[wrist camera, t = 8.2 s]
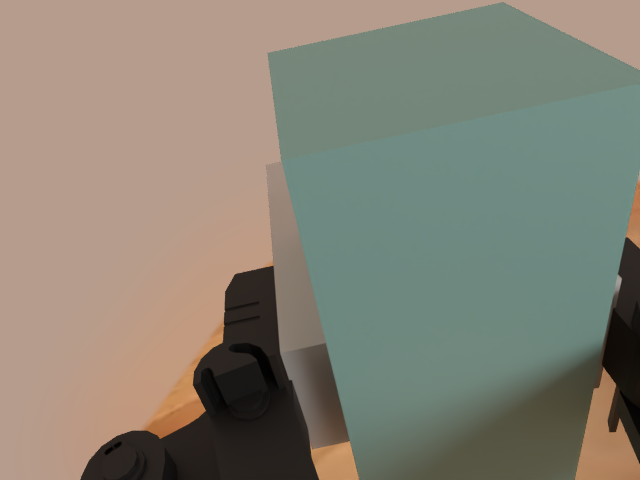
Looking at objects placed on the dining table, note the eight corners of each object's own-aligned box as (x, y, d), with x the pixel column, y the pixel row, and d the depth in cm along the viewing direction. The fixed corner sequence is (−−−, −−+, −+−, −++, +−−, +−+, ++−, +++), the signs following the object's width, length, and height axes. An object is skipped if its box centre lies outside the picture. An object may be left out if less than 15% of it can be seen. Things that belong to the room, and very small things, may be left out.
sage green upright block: (360, 454, 16) (267, 52, 9) (490, 426, 16) (503, 2, 9) (390, 606, 12) (281, 160, 5) (555, 571, 12) (659, 79, 5)
